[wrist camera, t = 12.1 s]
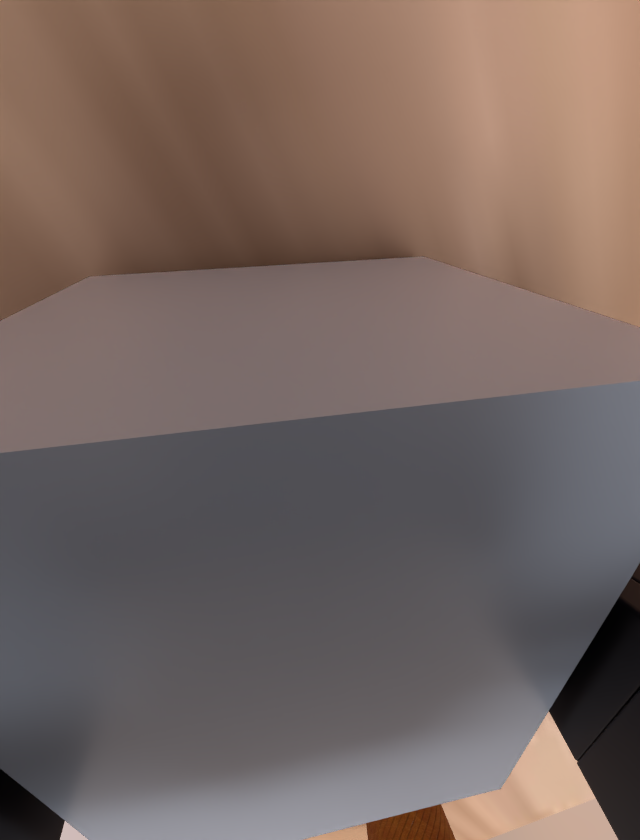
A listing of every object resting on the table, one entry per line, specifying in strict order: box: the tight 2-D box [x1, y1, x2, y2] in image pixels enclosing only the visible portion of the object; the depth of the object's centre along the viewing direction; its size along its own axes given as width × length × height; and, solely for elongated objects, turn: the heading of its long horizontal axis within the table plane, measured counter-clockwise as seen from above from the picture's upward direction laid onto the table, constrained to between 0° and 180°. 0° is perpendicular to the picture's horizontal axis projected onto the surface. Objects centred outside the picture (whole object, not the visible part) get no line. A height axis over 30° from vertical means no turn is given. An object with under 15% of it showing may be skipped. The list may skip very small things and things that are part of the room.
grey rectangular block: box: [0, 256, 640, 840], centre depth 8 cm, size 8×10×7 cm
